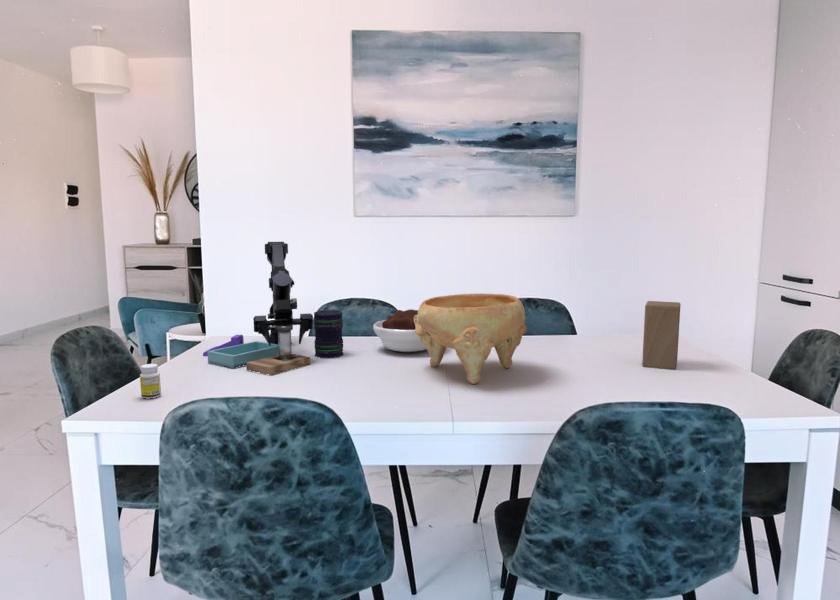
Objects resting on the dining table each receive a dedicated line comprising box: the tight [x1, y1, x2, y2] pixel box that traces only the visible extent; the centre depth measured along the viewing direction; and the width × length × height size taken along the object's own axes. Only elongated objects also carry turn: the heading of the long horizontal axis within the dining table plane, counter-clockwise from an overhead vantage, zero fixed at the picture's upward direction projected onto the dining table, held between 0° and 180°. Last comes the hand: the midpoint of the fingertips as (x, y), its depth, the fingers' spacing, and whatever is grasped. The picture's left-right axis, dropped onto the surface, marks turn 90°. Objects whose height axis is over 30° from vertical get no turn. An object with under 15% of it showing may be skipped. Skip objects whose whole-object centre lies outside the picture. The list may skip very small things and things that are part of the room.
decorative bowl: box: [414, 293, 528, 385], centre depth 175 cm, size 34×35×23 cm
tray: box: [207, 340, 279, 369], centre depth 191 cm, size 20×13×4 cm, turn 146°
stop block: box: [245, 353, 311, 376], centre depth 181 cm, size 16×11×2 cm, turn 146°
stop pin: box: [276, 324, 294, 361], centre depth 183 cm, size 5×5×13 cm
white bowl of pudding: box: [373, 308, 427, 353], centre depth 205 cm, size 25×25×15 cm
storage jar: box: [313, 309, 344, 359], centre depth 197 cm, size 10×10×15 cm
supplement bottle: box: [139, 363, 162, 400], centre depth 150 cm, size 5×5×8 cm
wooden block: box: [641, 300, 682, 371], centre depth 182 cm, size 10×10×20 cm
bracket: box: [202, 334, 245, 357], centre depth 200 cm, size 12×7×7 cm, turn 90°
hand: (285, 344), depth 181 cm, fingers open, 9 cm apart
